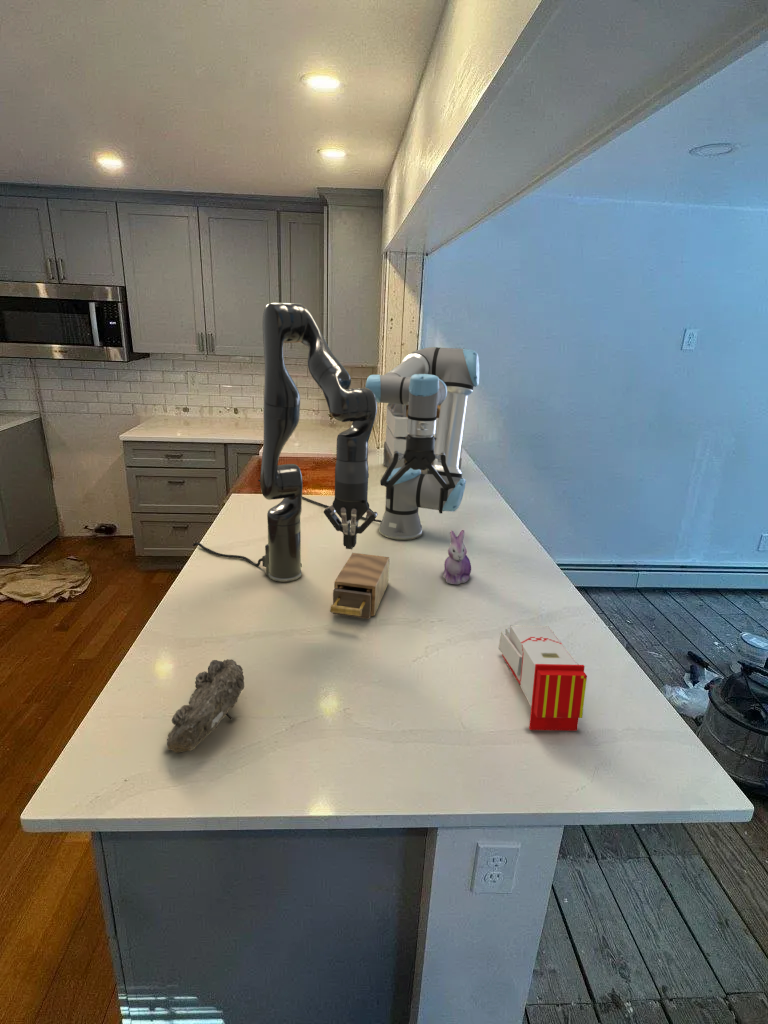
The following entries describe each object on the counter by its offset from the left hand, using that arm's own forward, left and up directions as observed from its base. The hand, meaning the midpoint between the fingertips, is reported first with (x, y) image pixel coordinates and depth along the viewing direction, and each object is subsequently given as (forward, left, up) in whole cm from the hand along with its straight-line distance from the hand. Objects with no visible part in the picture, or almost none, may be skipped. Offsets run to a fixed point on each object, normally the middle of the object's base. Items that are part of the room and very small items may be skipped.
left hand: (349, 547), depth 134 cm
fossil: (-6, -42, -21) cm, 47 cm away
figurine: (+15, +39, -21) cm, 47 cm away
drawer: (-2, +8, -20) cm, 22 cm away
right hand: (+5, +29, +2) cm, 29 cm away
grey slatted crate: (-38, +139, -21) cm, 146 cm away
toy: (+47, -2, -21) cm, 51 cm away
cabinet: (-4, +15, -21) cm, 26 cm away
